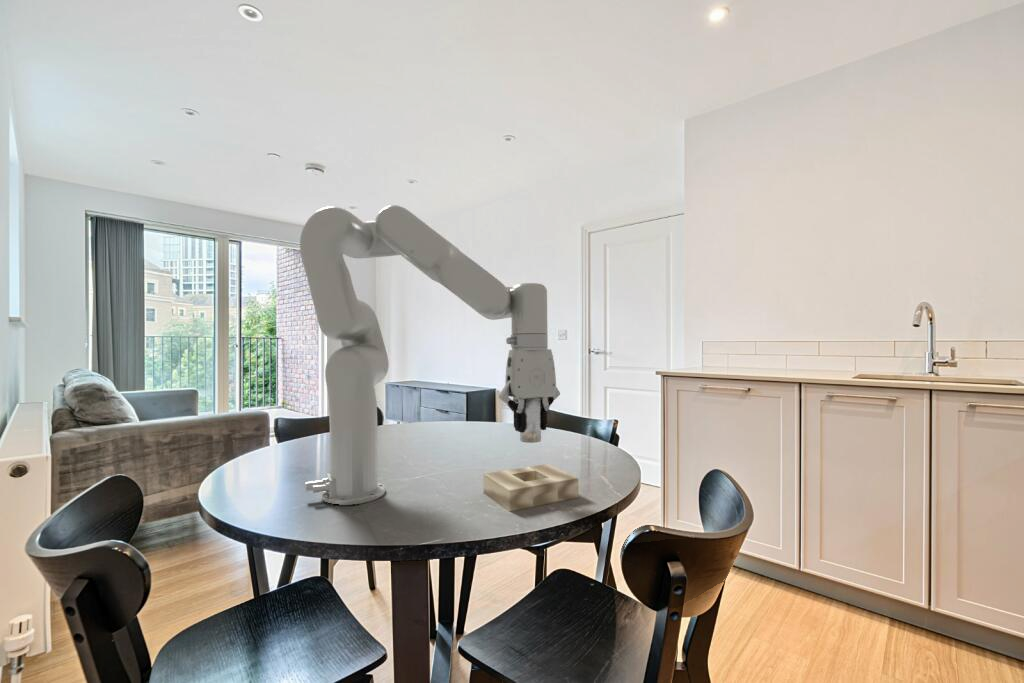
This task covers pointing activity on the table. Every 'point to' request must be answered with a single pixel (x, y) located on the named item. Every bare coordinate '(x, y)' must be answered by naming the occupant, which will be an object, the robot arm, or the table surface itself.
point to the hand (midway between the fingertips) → (530, 429)
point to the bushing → (532, 420)
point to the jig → (530, 486)
